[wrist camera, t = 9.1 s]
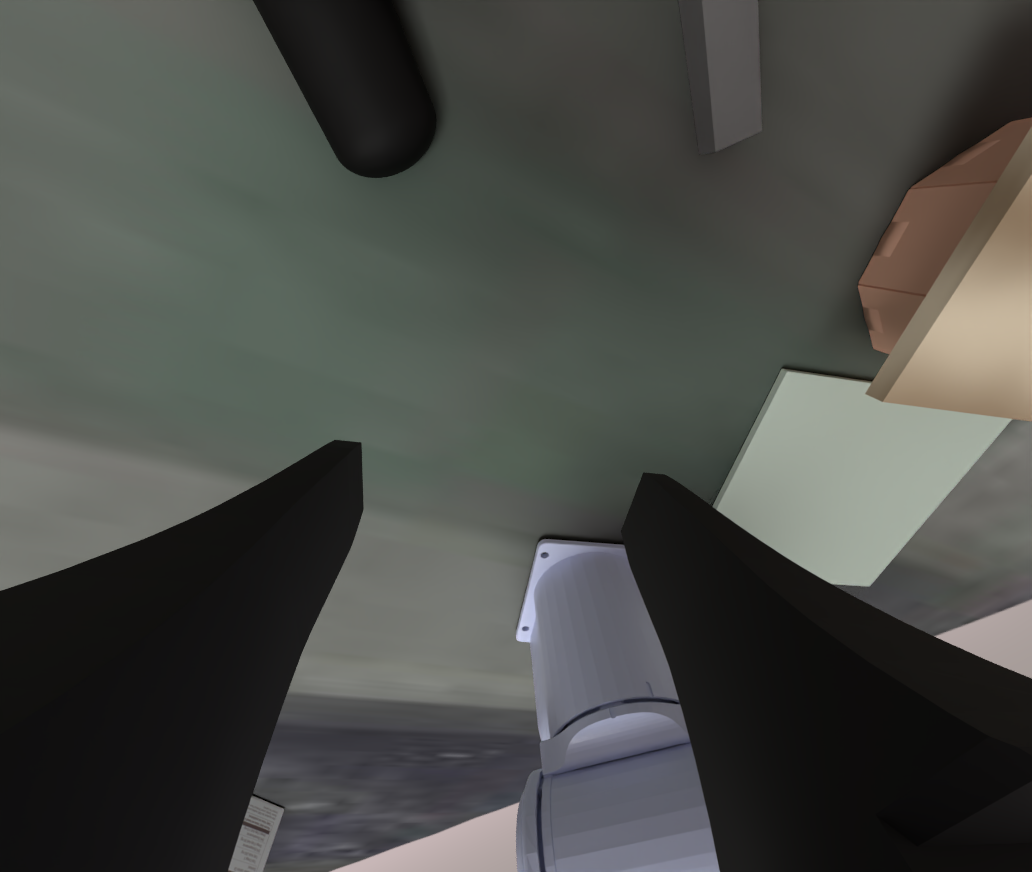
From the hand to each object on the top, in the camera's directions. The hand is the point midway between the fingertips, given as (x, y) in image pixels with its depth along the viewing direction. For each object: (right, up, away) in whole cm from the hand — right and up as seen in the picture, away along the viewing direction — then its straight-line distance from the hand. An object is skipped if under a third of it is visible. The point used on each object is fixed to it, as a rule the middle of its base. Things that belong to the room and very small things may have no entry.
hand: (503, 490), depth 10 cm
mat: (+19, -2, +13) cm, 23 cm away
